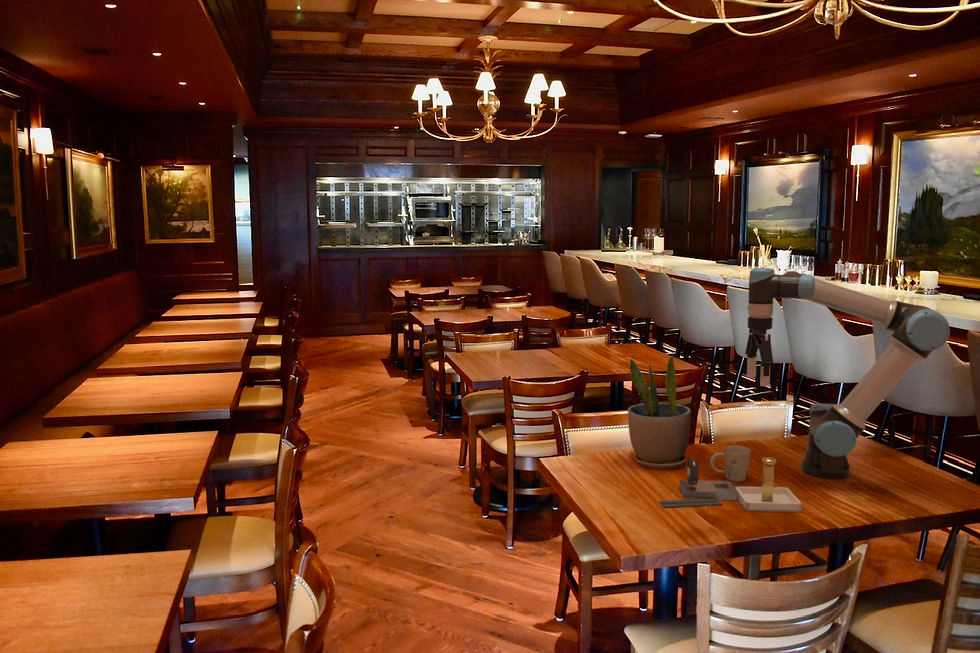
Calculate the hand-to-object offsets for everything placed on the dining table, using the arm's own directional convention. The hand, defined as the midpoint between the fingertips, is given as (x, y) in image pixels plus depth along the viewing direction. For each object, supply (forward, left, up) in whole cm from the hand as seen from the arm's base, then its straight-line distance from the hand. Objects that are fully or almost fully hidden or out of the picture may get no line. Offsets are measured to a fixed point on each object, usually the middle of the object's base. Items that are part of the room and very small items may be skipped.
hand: (757, 381), depth 257 cm
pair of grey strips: (+25, +25, -32) cm, 48 cm away
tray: (+2, +23, -32) cm, 40 cm away
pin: (+2, +23, -32) cm, 39 cm away
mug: (+8, +1, -33) cm, 34 cm away
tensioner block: (+18, +16, -32) cm, 40 cm away
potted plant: (+29, -14, -33) cm, 46 cm away
